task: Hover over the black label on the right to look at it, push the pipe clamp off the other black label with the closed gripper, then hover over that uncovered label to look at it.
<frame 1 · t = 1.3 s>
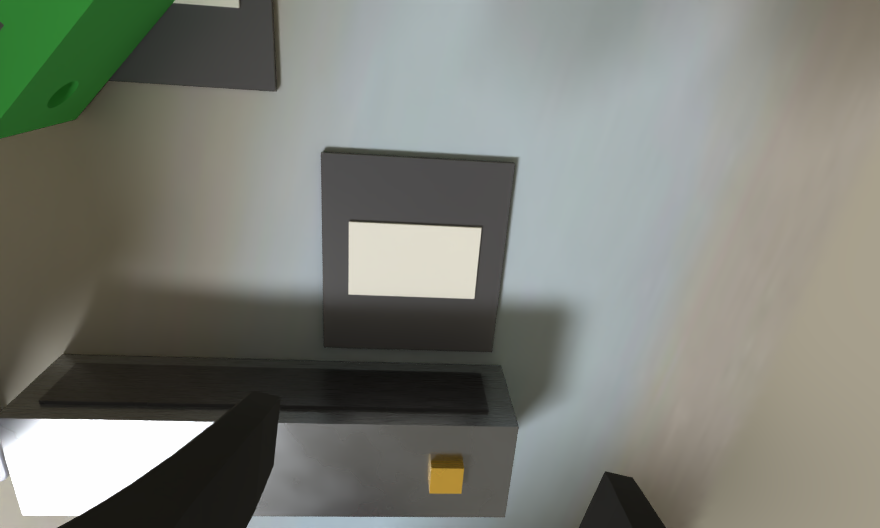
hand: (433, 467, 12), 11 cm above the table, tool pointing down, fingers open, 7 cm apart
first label: (413, 259, 21), on the table
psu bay: (290, 403, 24), on the table
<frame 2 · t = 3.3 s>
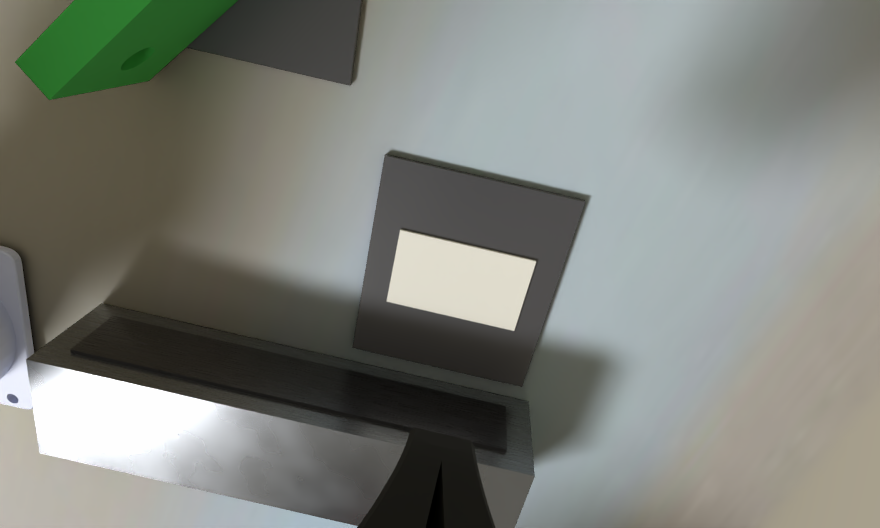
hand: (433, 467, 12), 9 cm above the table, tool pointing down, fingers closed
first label: (459, 278, 20), on the table
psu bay: (309, 394, 23), on the table
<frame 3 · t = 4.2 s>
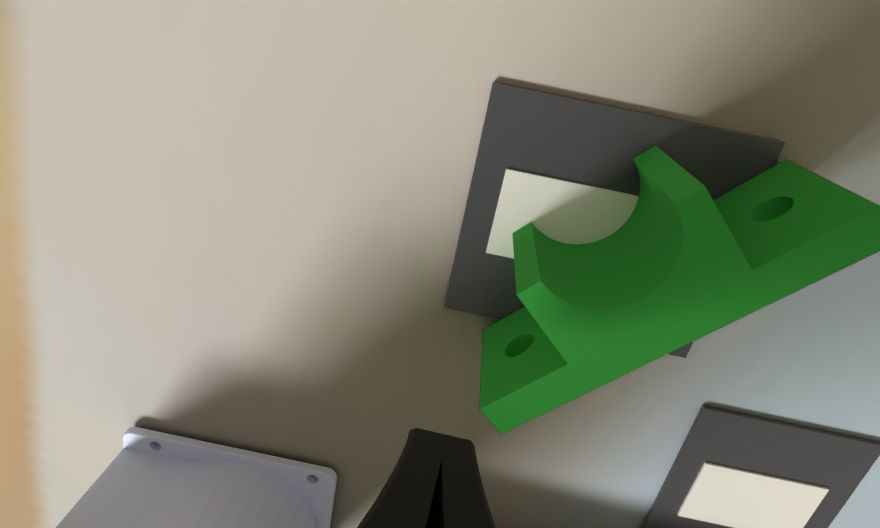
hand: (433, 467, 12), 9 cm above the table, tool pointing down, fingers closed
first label: (748, 497, 23), on the table
pipe clamp: (612, 234, 18), resting on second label
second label: (597, 230, 18), on the table
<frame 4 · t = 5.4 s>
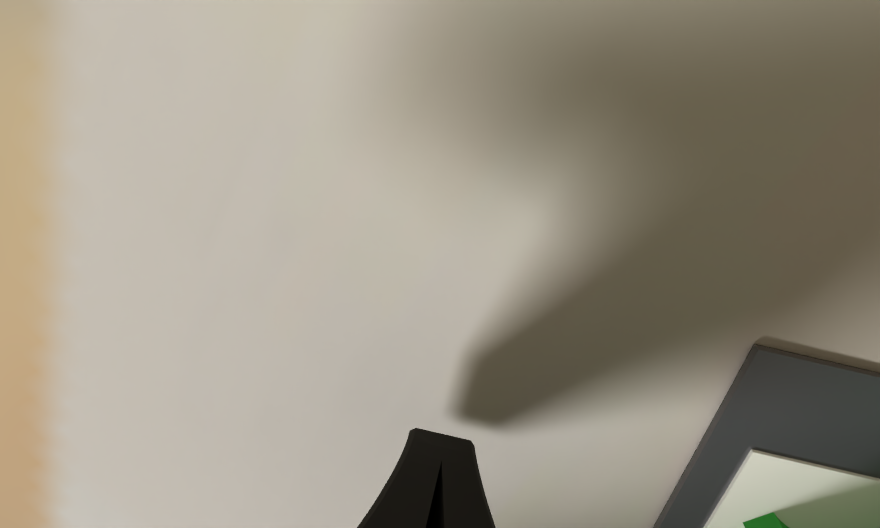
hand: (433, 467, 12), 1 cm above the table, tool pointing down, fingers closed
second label: (860, 520, 13), on the table
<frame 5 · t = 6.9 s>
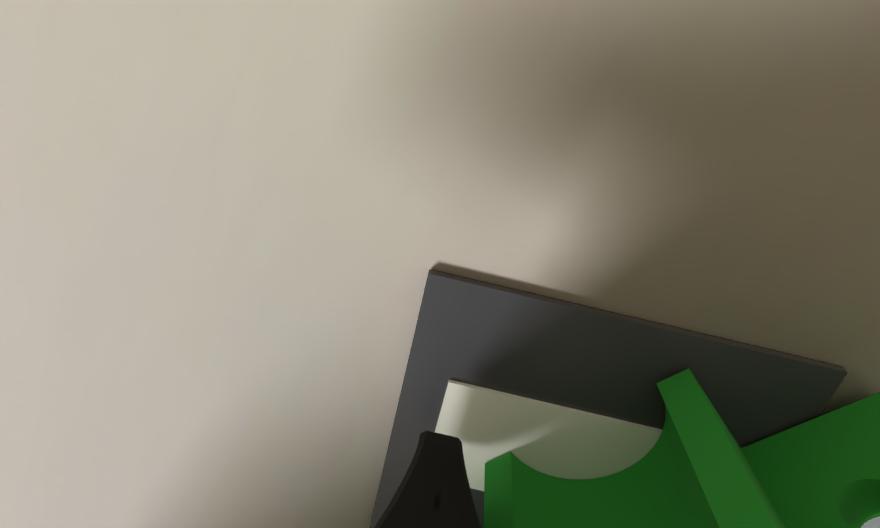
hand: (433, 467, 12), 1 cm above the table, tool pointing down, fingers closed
pipe clamp: (624, 466, 13), resting on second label, touching gripper
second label: (576, 456, 13), on the table
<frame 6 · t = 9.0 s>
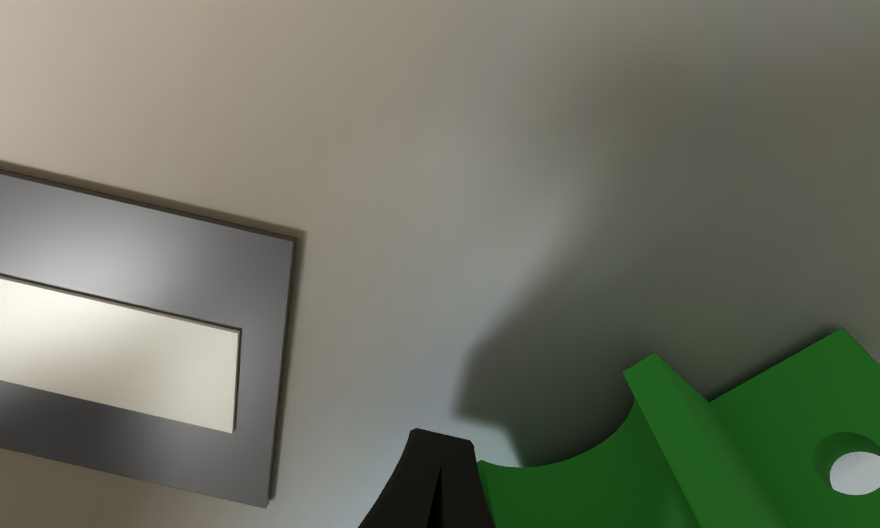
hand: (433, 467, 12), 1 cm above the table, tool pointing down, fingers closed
pipe clamp: (596, 439, 13), on the table
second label: (98, 345, 13), on the table
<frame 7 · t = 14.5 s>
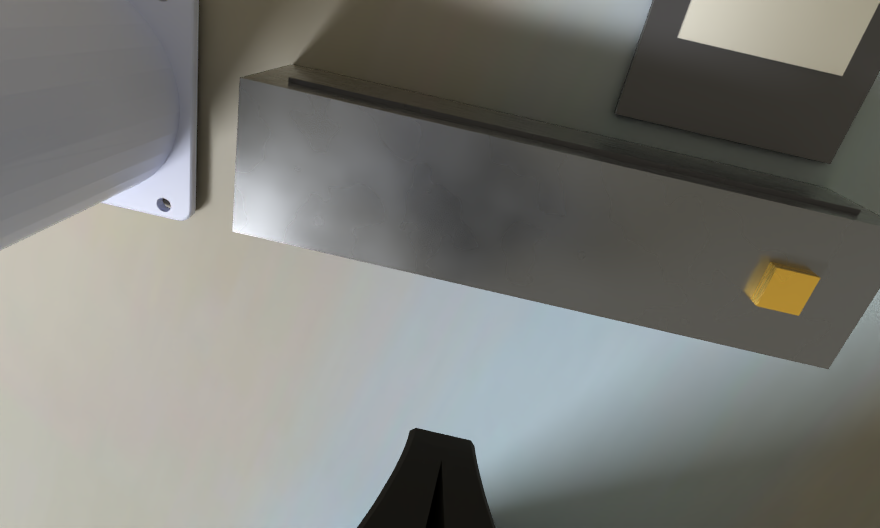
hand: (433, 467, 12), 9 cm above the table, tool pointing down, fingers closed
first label: (779, 2, 16), on the table
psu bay: (541, 190, 19), on the table
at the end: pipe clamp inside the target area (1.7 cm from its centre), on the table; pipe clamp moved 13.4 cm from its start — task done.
